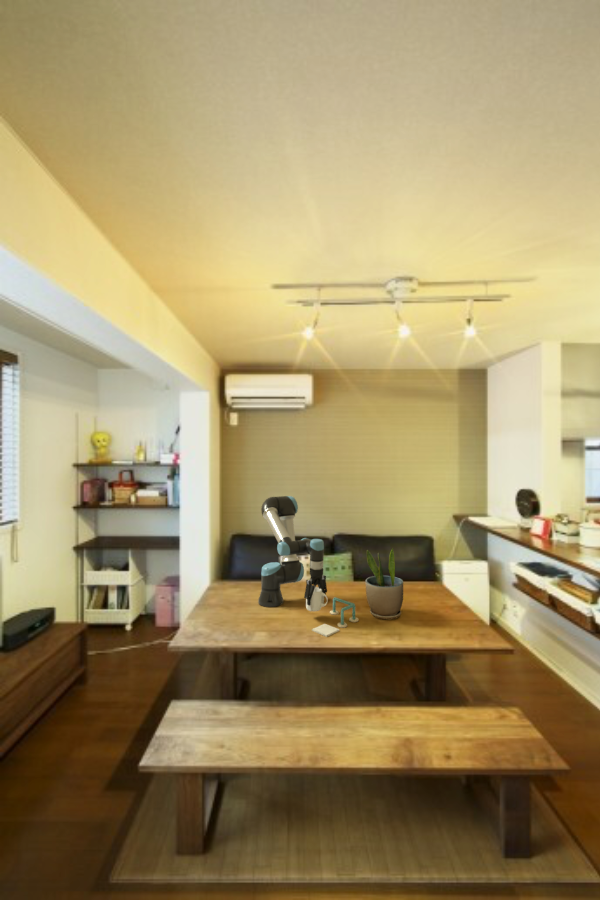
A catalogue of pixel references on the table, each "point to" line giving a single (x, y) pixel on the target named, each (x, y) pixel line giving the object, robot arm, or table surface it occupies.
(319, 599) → the mug
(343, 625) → the wire course
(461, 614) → the table surface
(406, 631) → the table surface
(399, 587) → the potted plant
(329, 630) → the coaster
